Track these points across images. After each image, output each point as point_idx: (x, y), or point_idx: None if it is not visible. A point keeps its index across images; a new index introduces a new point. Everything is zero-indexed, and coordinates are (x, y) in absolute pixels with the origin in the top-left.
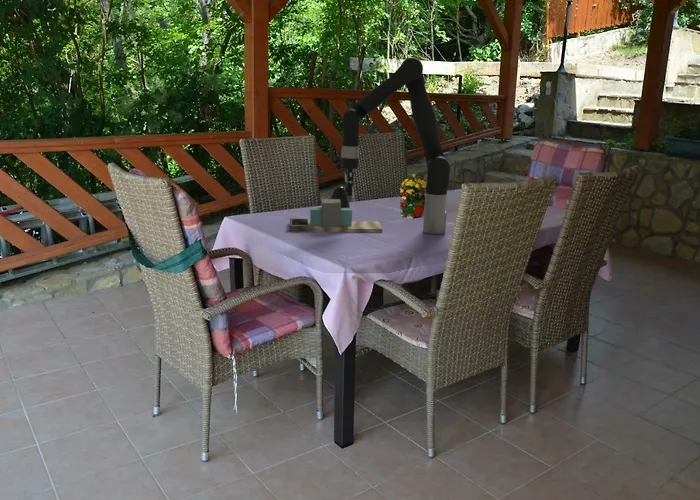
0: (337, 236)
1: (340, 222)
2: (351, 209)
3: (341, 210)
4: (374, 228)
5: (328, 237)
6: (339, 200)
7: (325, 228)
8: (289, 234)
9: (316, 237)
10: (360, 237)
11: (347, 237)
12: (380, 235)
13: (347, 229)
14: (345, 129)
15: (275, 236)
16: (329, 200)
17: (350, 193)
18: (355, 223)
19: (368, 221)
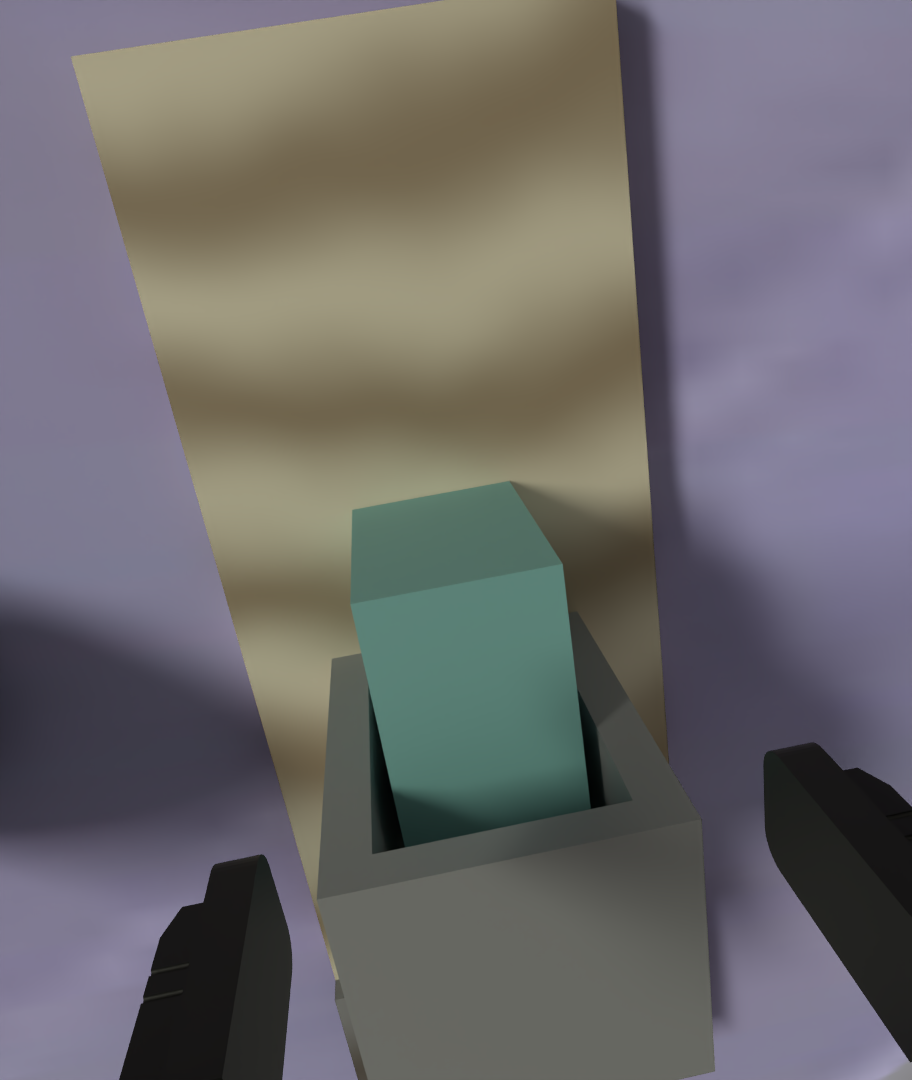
0: (842, 586)
1: (592, 640)
2: (481, 584)
3: (579, 728)
4: (591, 122)
5: (884, 666)
6: (429, 888)
7: (667, 755)
8: (783, 987)
9: (884, 769)
10: (883, 318)
11: (883, 474)
12: (773, 22)
13: (647, 514)
14: None
15: (853, 1056)
16: (478, 1029)
17: (892, 807)
18: (333, 443)
19: (129, 246)
